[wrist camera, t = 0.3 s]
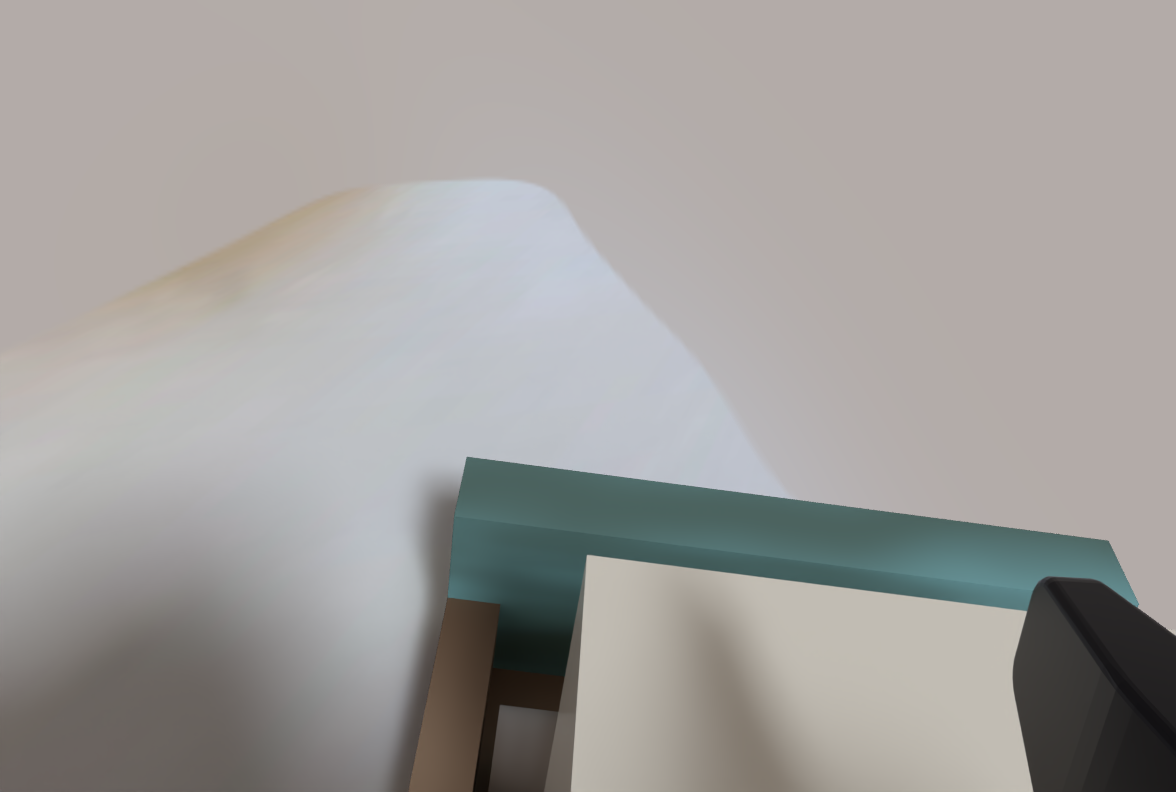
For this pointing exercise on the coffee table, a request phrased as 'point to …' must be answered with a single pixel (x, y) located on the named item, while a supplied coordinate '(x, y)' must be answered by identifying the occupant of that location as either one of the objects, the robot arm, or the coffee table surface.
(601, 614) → the limestone slab
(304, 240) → the coffee table surface
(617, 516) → the roller bed
